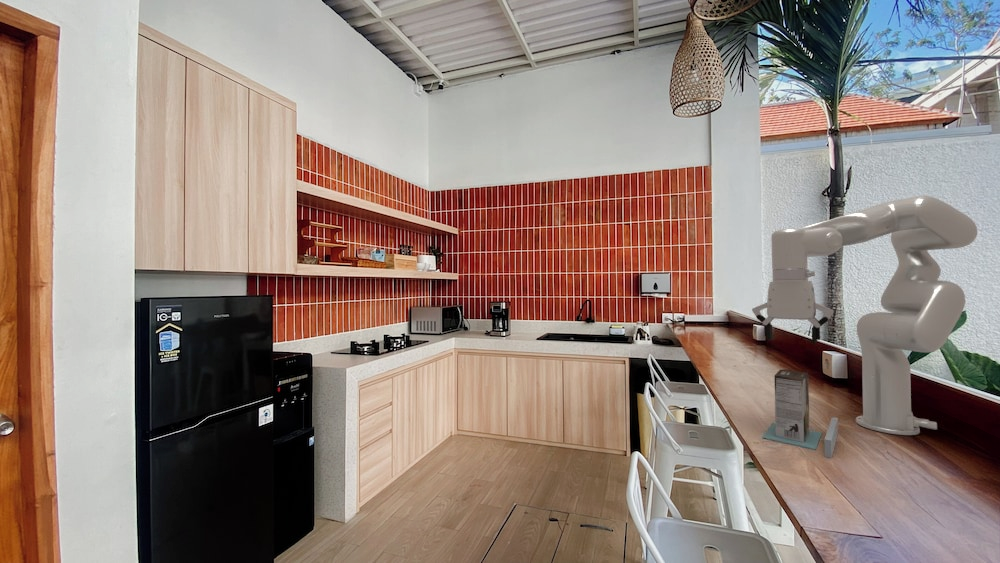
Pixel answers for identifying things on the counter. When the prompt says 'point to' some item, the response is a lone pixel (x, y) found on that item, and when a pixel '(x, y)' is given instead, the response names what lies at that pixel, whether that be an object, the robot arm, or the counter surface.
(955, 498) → the counter surface
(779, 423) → the coffee box
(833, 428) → the low wall
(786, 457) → the counter surface
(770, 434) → the mat
